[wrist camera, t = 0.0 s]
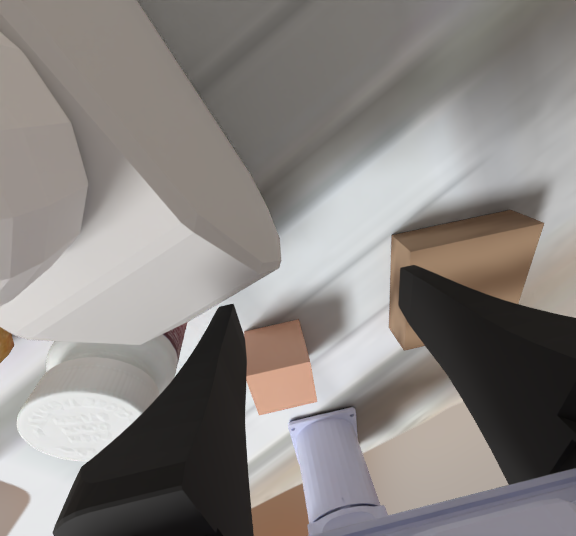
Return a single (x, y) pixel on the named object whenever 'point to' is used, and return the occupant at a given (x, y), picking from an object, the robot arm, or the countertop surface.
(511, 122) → the countertop surface
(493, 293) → the walnut base
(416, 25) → the countertop surface
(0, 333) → the bread
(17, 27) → the soap bottle
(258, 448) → the countertop surface
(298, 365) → the terracotta block
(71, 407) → the pill bottle
